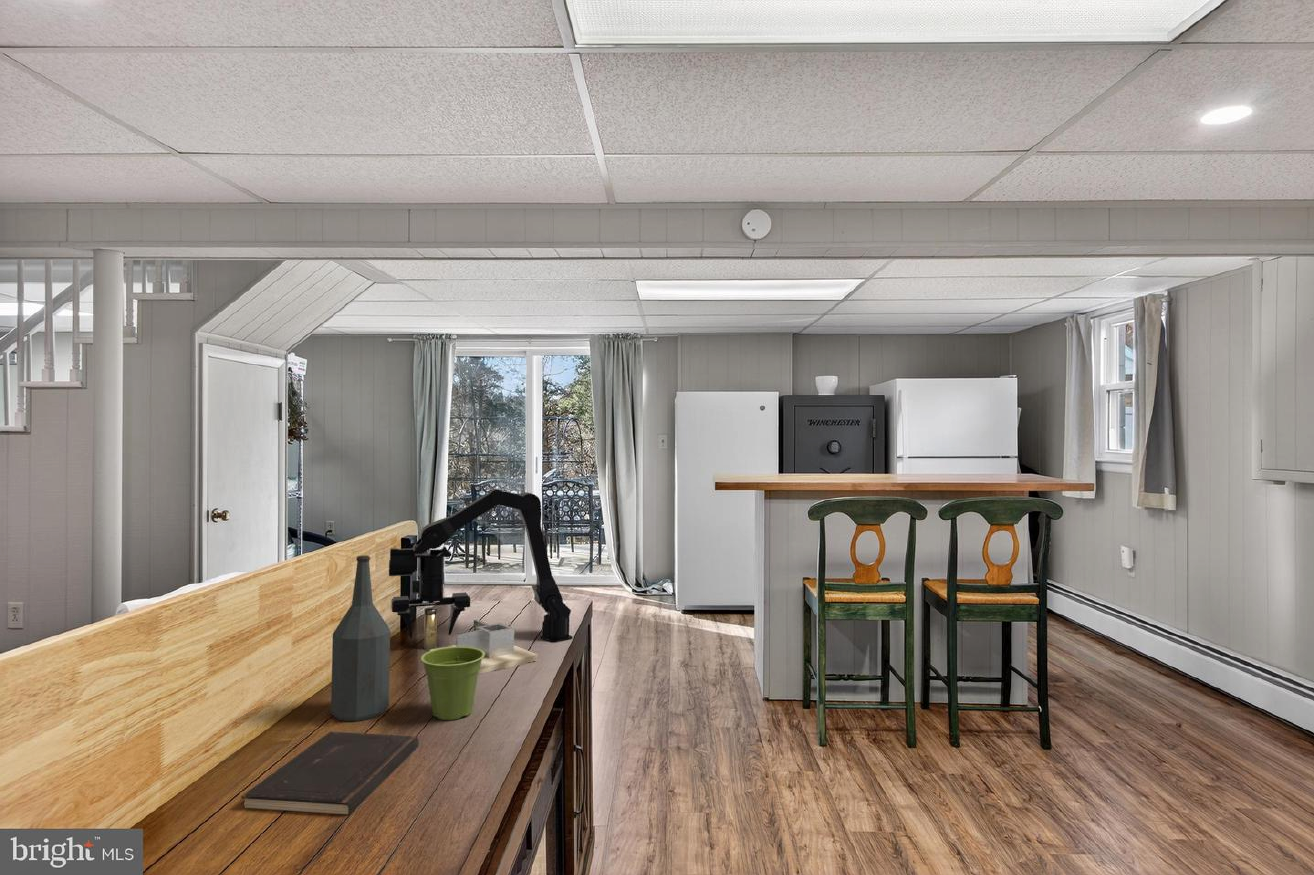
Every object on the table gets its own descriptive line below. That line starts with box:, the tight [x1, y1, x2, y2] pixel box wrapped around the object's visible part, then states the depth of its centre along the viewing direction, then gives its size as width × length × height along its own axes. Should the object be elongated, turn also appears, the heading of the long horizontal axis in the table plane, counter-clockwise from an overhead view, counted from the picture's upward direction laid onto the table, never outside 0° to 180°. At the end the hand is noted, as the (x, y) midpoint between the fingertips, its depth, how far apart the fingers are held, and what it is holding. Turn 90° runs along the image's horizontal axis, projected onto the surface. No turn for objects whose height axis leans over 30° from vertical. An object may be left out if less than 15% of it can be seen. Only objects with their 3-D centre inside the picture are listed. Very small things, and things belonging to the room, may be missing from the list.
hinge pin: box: [423, 606, 438, 651], centre depth 181 cm, size 3×3×10 cm
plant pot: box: [420, 646, 485, 721], centre depth 138 cm, size 12×12×11 cm
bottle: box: [330, 555, 391, 722], centre depth 138 cm, size 10×10×30 cm
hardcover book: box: [240, 731, 420, 816], centre depth 112 cm, size 16×23×2 cm
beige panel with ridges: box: [428, 619, 538, 675], centre depth 173 cm, size 18×20×8 cm
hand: (430, 636), depth 181 cm, fingers open, 9 cm apart
